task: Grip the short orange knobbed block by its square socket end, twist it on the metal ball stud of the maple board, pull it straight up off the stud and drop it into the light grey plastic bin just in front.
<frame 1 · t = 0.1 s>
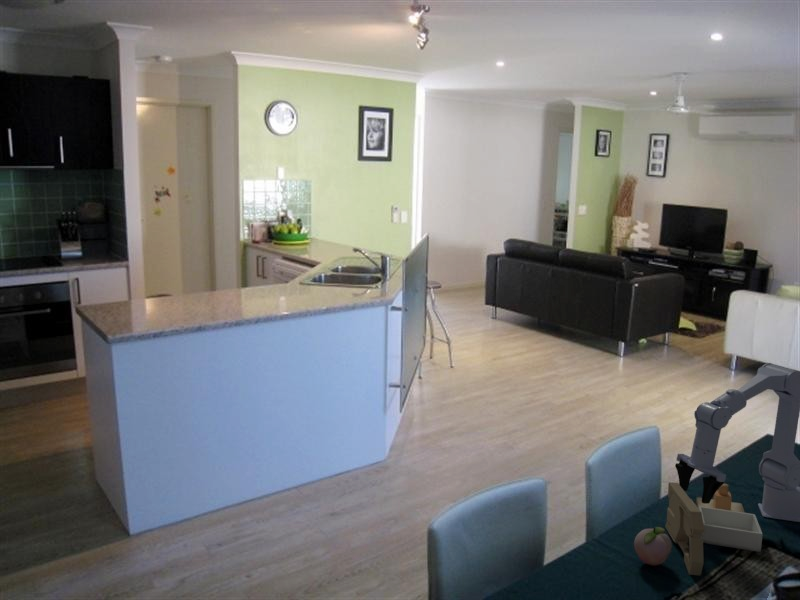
hand: (694, 496, 176), 11 cm above the table, tool pointing down, fingers open, 7 cm apart
decorative fruit: (650, 565, 163), on the table
stud board: (721, 514, 188), on the table
orange knobbed block: (721, 509, 188), point 1 cm above the table, touching stud board
bin: (727, 536, 176), on the table
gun: (682, 550, 170), on the table
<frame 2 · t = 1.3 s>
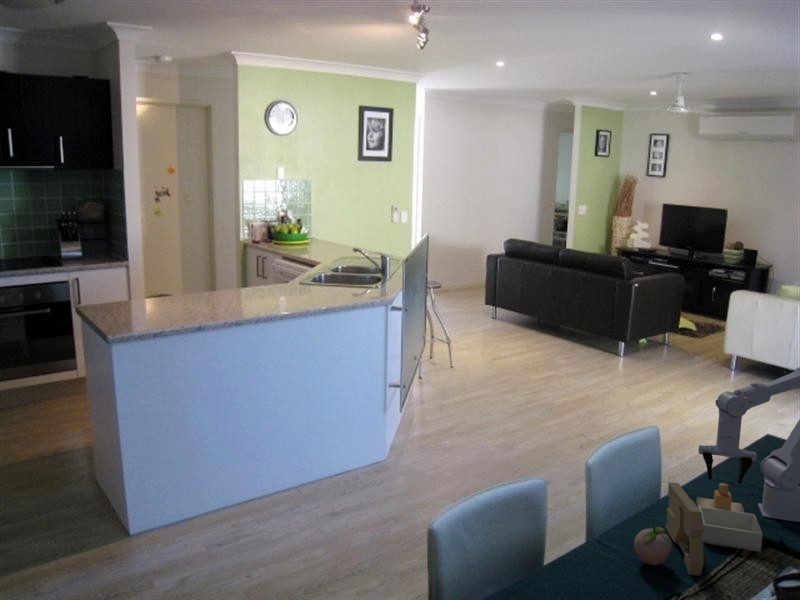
hand: (724, 480, 186), 10 cm above the table, tool pointing down, fingers open, 7 cm apart
nothing on the table moved.
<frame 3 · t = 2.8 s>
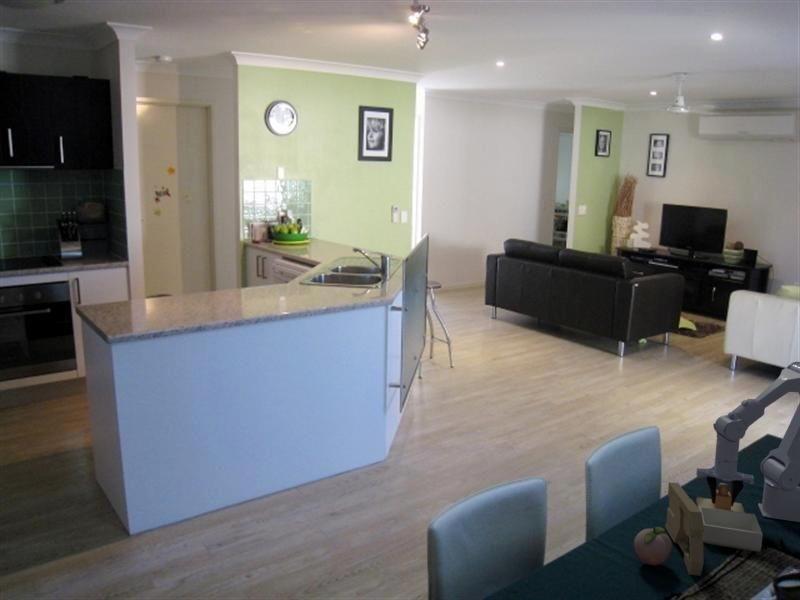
hand: (722, 503, 187), 3 cm above the table, tool pointing down, fingers closed on orange knobbed block, 4 cm apart
orange knobbed block: (721, 509, 188), point 2 cm above the table, touching gripper, stud board
everything else where it was.
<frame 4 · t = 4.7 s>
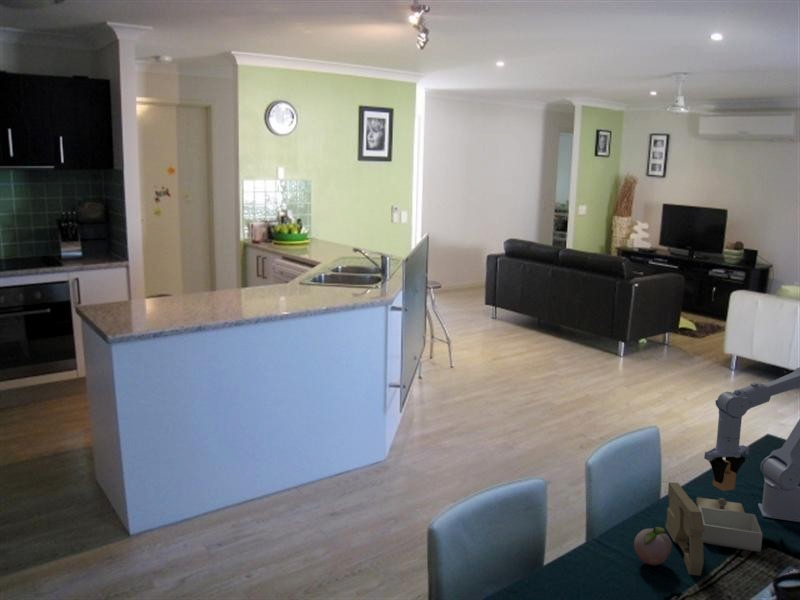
hand: (724, 480, 186), 10 cm above the table, tool pointing down, fingers closed on orange knobbed block, 4 cm apart
orange knobbed block: (723, 487, 187), point 8 cm above the table, touching gripper
everything else where it was.
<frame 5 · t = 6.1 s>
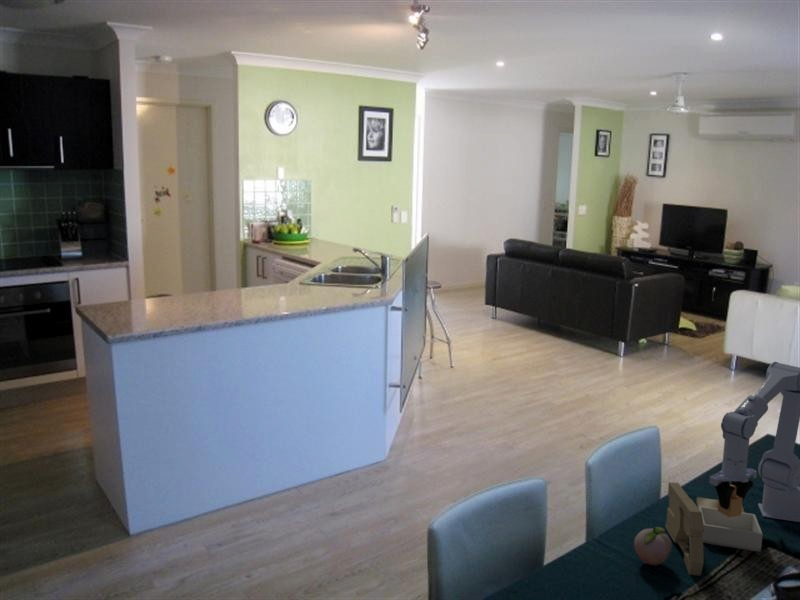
hand: (730, 506, 174), 9 cm above the table, tool pointing down, fingers closed on orange knobbed block, 4 cm apart
orange knobbed block: (729, 512, 175), point 7 cm above the table, touching gripper
everything else where it was.
when the fingers open (5 cm above the table, at t = 7.0 s): orange knobbed block drops 3 cm, resting on bin.
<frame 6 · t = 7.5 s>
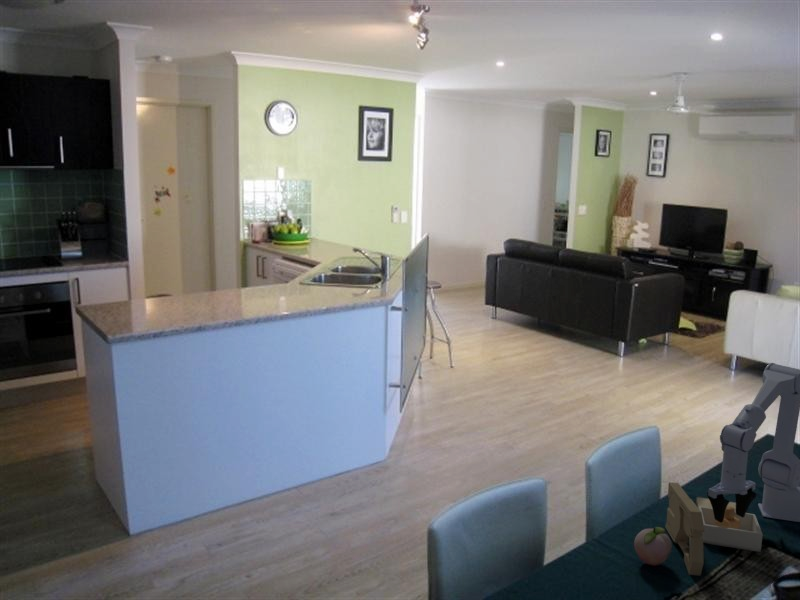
hand: (729, 518, 175), 5 cm above the table, tool pointing down, fingers open, 7 cm apart
orange knobbed block: (727, 534, 176), point 1 cm above the table, touching bin
everything else where it was.
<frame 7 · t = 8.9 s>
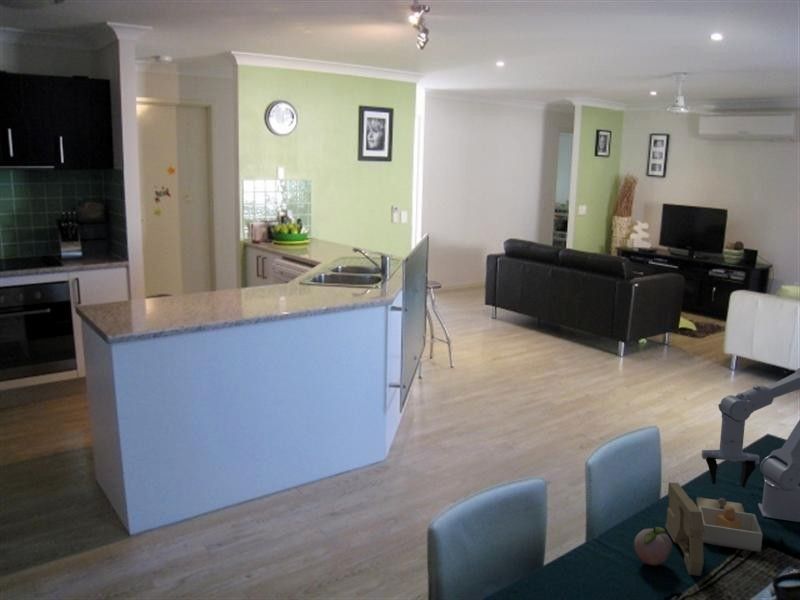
hand: (727, 484, 186), 9 cm above the table, tool pointing down, fingers open, 7 cm apart
nothing on the table moved.
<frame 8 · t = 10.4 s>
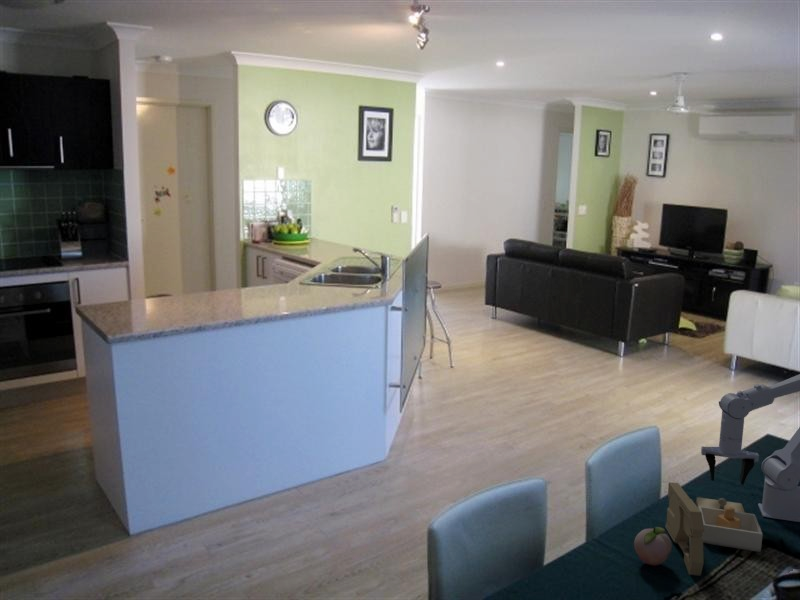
hand: (726, 481, 188), 9 cm above the table, tool pointing down, fingers open, 7 cm apart
nothing on the table moved.
at the end: orange knobbed block inside the target area on the bin (0.1 cm from its centre), point 0.6 cm above the bin's base; the gripper is holding nothing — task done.
